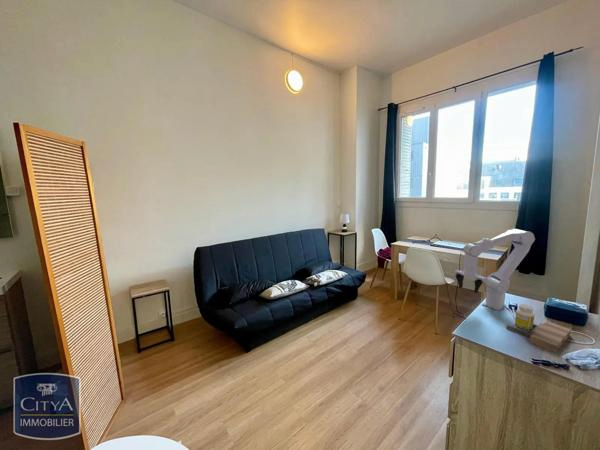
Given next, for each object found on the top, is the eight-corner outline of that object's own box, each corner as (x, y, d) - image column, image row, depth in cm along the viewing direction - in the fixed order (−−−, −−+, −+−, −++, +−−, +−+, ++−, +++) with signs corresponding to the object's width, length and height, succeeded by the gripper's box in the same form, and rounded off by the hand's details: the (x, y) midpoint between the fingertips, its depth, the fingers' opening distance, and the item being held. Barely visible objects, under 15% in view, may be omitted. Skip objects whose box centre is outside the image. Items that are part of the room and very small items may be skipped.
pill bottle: (525, 325, 117) (528, 303, 115) (535, 333, 111) (539, 310, 109) (511, 324, 118) (513, 303, 116) (520, 332, 112) (523, 309, 110)
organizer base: (519, 318, 123) (520, 312, 123) (570, 335, 108) (571, 329, 108) (502, 331, 113) (503, 325, 112) (555, 352, 98) (556, 345, 98)
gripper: (452, 264, 137) (450, 287, 139) (482, 271, 124) (479, 296, 127) (459, 261, 140) (457, 284, 142) (488, 268, 128) (486, 293, 130)
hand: (468, 289), depth 135 cm, fingers open, 7 cm apart
